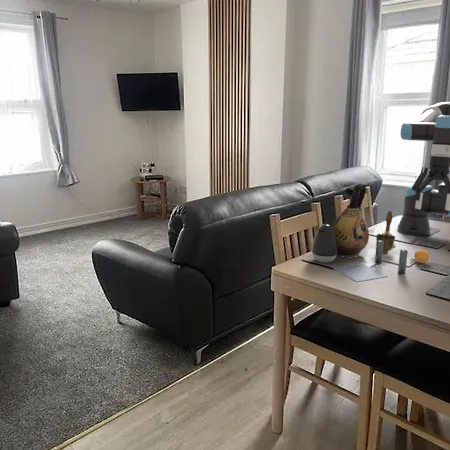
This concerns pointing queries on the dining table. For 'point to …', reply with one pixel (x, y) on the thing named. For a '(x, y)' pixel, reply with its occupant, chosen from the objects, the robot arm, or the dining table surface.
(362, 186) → the ceramic jug
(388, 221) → the hand bell
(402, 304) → the dining table surface
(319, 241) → the grey smart speaker
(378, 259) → the gate post
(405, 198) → the robot arm
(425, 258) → the ball
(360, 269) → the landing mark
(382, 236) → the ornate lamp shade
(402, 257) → the gate post
